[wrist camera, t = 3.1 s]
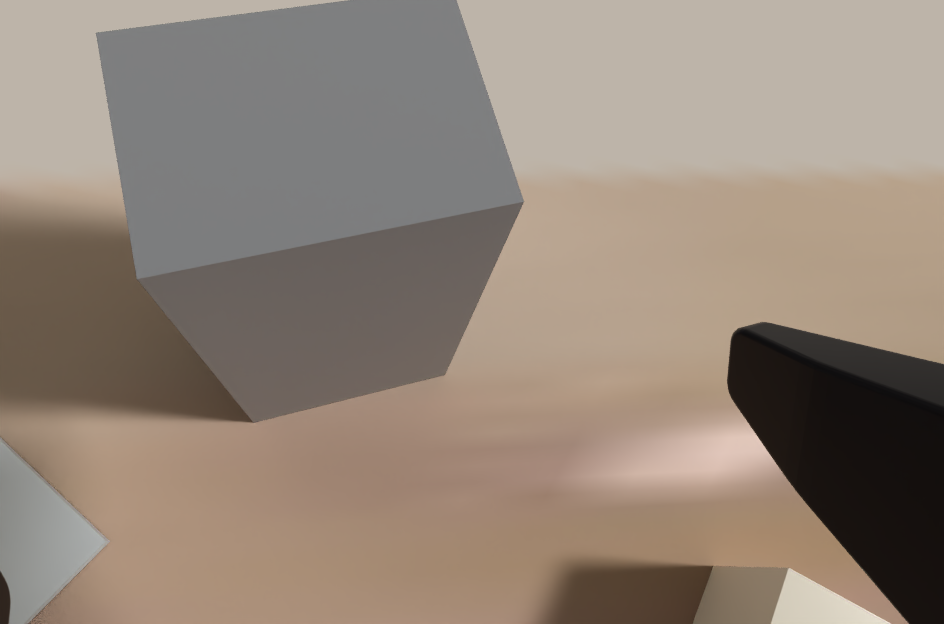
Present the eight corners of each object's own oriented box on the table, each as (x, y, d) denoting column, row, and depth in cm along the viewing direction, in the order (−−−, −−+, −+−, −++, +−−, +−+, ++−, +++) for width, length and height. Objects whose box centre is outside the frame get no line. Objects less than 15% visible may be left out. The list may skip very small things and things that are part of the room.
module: (444, 374, 21) (523, 201, 11) (250, 423, 20) (130, 280, 10) (410, 251, 22) (451, -13, 12) (223, 290, 21) (90, 33, 11)
